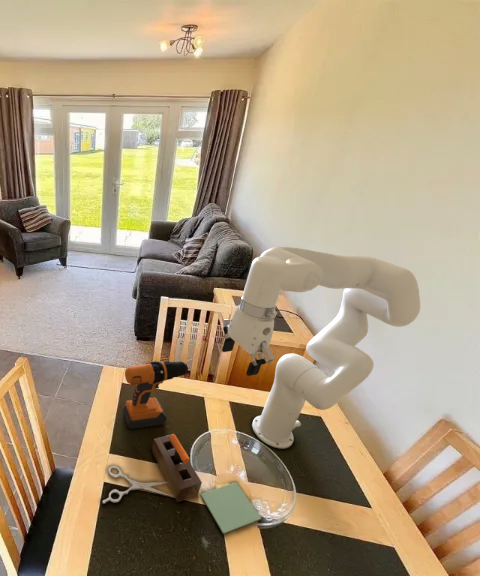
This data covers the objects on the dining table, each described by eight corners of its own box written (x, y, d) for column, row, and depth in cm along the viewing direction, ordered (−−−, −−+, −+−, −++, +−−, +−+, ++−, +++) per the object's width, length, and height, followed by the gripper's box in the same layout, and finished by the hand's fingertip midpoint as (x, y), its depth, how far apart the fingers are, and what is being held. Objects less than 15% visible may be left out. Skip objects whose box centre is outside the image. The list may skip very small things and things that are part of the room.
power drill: (173, 405, 117) (185, 352, 105) (182, 422, 110) (195, 367, 99) (117, 413, 113) (123, 358, 101) (123, 430, 106) (129, 374, 95)
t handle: (169, 459, 98) (175, 433, 92) (183, 484, 91) (190, 457, 86) (163, 460, 97) (169, 434, 92) (177, 486, 90) (184, 459, 85)
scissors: (103, 465, 95) (170, 470, 94) (103, 466, 95) (170, 471, 94) (102, 502, 85) (176, 508, 84) (102, 504, 86) (176, 510, 85)
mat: (235, 483, 92) (236, 481, 92) (260, 519, 83) (261, 518, 83) (200, 495, 88) (200, 493, 88) (223, 534, 80) (223, 533, 80)
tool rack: (170, 446, 102) (172, 433, 99) (197, 495, 88) (202, 482, 86) (151, 451, 100) (153, 439, 97) (177, 502, 87) (180, 489, 84)
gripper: (298, 324, 70) (274, 382, 78) (244, 289, 85) (229, 341, 93) (271, 328, 68) (250, 387, 76) (221, 292, 83) (207, 344, 90)
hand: (238, 362), depth 84 cm, fingers open, 9 cm apart
